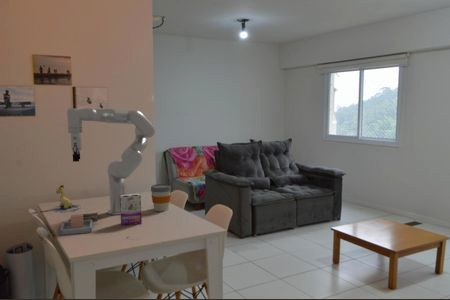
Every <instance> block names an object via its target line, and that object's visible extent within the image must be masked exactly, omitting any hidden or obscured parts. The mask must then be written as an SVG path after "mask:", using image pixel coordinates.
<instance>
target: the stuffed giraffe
mask: <svg viewBox="0 0 450 300" xmlns="http://www.w3.org/2000/svg"><path fill="white" fill-rule="evenodd" d="M65 188H66V187H65V185H64V184H62V185H60V186H57V187H56V189H55V193H56V194H60V197H59V202H60V203H59V205H57V206H54V207H52V208H50V209H48V210H46V212H49V211H51V212H54V213H55V212H56V213H74V212H76V211H77V210H80V209H81V207H80V208H79V207H78V206H79V204H78V205H77V204H73V203H72V200H70V198H68V197H65Z"/></svg>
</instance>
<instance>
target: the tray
mask: <svg viewBox="0 0 450 300" xmlns="http://www.w3.org/2000/svg"><path fill="white" fill-rule="evenodd" d="M93 223H94V222H93V221H92V220H83V224H84V228H76V229H71V221H62V223H61V227H60V229H59V235H60V236H68V235H69V234H70V235H77V234H78V235H79V233H80V234H87V233H88V232H90V233H92V231H93ZM70 235H69V236H70Z"/></svg>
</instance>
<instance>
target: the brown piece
mask: <svg viewBox="0 0 450 300" xmlns="http://www.w3.org/2000/svg"><path fill="white" fill-rule="evenodd" d="M80 214H81V213H80ZM80 214H77V215H80ZM82 214H83V220H92V222H97V221H98V220H99V219H98V217H99V216H98V215H99V213H98V212H92V213H82Z"/></svg>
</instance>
